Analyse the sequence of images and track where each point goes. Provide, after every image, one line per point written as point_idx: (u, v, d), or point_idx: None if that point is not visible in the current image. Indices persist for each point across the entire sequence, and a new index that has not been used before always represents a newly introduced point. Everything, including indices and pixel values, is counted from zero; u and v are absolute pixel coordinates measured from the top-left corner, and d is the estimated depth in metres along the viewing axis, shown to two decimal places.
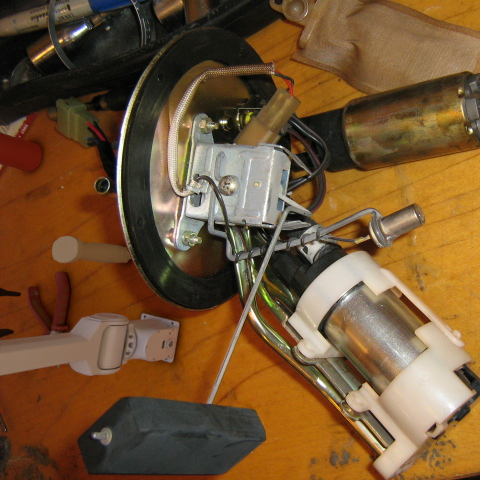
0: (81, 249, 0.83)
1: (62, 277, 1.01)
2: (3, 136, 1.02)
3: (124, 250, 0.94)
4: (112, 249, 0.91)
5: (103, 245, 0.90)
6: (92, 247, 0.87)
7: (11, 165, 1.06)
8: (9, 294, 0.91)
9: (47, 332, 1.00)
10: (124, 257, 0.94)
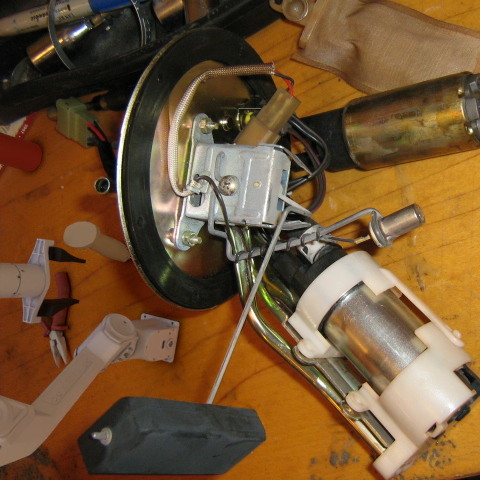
0: (98, 236, 0.83)
1: (62, 277, 1.01)
2: (3, 136, 1.02)
3: None
4: (118, 244, 0.91)
5: (111, 239, 0.90)
6: (103, 238, 0.87)
7: (11, 165, 1.06)
8: (76, 260, 0.85)
9: (47, 332, 1.00)
10: (126, 255, 0.94)
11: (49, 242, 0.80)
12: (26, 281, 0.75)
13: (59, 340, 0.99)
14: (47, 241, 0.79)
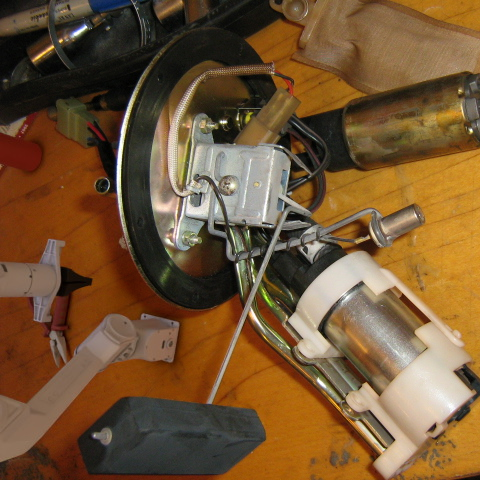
0: None
1: None
2: (3, 136, 1.02)
3: None
4: None
5: None
6: None
7: (11, 165, 1.06)
8: (82, 279, 0.86)
9: (47, 332, 1.00)
10: None
11: (60, 242, 0.81)
12: (37, 280, 0.76)
13: (59, 340, 0.99)
14: (58, 241, 0.81)
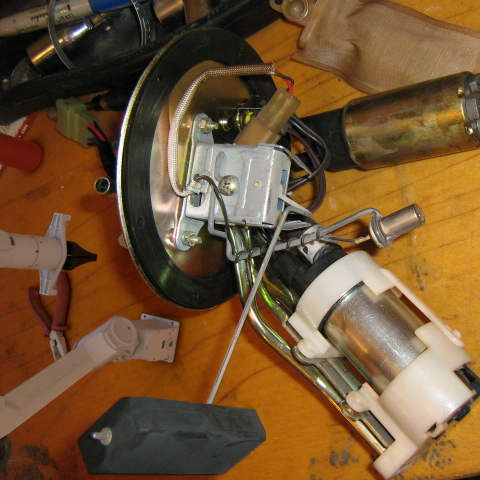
0: None
1: (63, 277, 1.01)
2: (3, 136, 1.02)
3: None
4: None
5: None
6: None
7: (11, 165, 1.06)
8: (88, 254, 0.86)
9: (47, 332, 1.00)
10: None
11: (66, 216, 0.82)
12: (44, 252, 0.77)
13: (59, 340, 0.99)
14: (64, 215, 0.81)
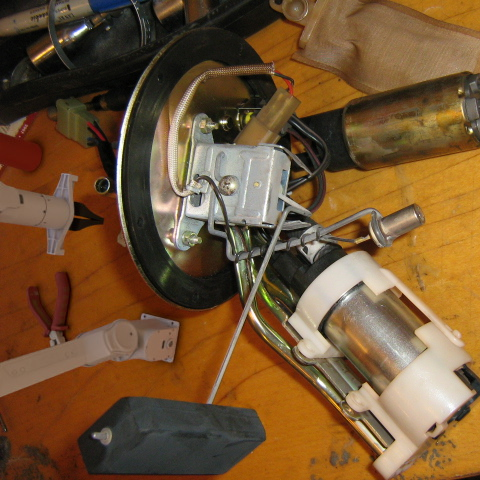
0: None
1: (63, 277, 1.01)
2: (3, 136, 1.02)
3: None
4: None
5: None
6: None
7: (11, 165, 1.06)
8: (94, 217, 0.87)
9: (47, 332, 1.00)
10: None
11: (73, 177, 0.82)
12: (51, 210, 0.77)
13: (59, 340, 0.99)
14: (71, 176, 0.82)
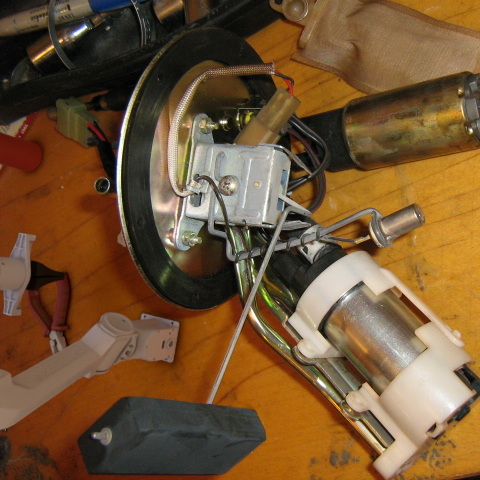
0: None
1: None
2: (3, 136, 1.02)
3: None
4: None
5: None
6: None
7: (11, 165, 1.06)
8: (54, 273, 0.86)
9: (47, 332, 1.00)
10: None
11: (31, 237, 0.82)
12: (6, 274, 0.77)
13: (59, 340, 0.99)
14: (29, 235, 0.81)
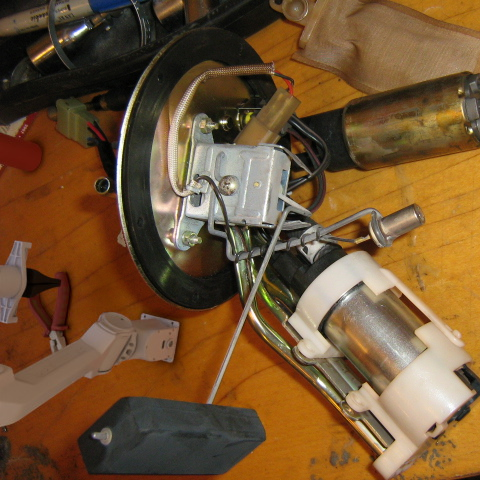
0: None
1: (63, 277, 1.01)
2: (3, 136, 1.02)
3: None
4: None
5: None
6: None
7: (11, 165, 1.06)
8: (50, 281, 0.87)
9: (47, 332, 1.00)
10: None
11: (26, 244, 0.82)
12: (2, 282, 0.77)
13: (59, 340, 0.99)
14: (24, 243, 0.82)
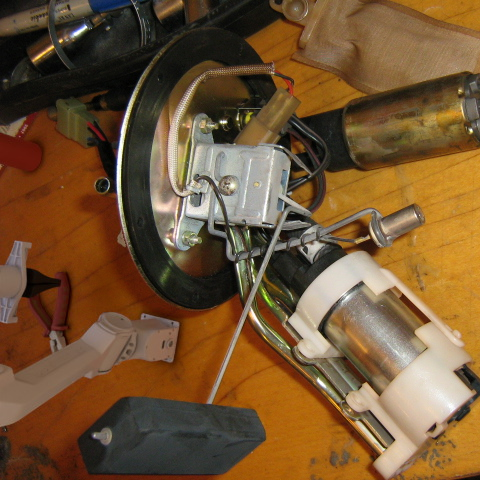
0: None
1: (63, 277, 1.01)
2: (3, 136, 1.02)
3: None
4: None
5: None
6: None
7: (11, 165, 1.06)
8: (50, 281, 0.87)
9: (47, 332, 1.00)
10: None
11: (26, 244, 0.82)
12: (2, 282, 0.77)
13: (59, 340, 0.99)
14: (24, 243, 0.82)
